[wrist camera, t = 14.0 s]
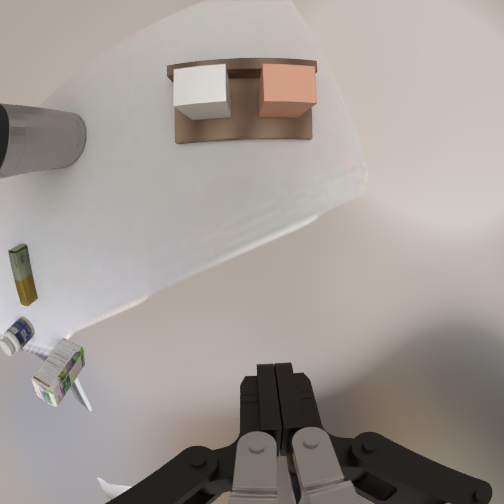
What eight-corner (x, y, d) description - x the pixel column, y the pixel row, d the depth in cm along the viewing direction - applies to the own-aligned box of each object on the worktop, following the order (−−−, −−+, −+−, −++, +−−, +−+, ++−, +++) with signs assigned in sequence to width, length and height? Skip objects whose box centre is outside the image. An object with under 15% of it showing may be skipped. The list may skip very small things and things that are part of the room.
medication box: (20, 243, 38) (7, 249, 35) (27, 244, 38) (14, 250, 35) (31, 296, 42) (20, 305, 39) (38, 298, 42) (28, 307, 39)
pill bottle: (36, 338, 46) (16, 362, 37) (22, 331, 45) (1, 352, 36) (32, 321, 44) (9, 344, 35) (18, 313, 44) (-5, 334, 34)
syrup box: (85, 365, 48) (58, 409, 34) (65, 355, 47) (36, 396, 33) (83, 347, 46) (53, 393, 32) (62, 337, 45) (29, 379, 32)
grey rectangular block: (192, 120, 31) (173, 106, 22) (192, 92, 30) (173, 69, 21) (231, 117, 31) (225, 101, 22) (230, 89, 30) (225, 63, 21)
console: (178, 143, 34) (167, 141, 29) (178, 78, 31) (167, 65, 25) (308, 139, 35) (320, 136, 29) (306, 74, 31) (316, 60, 26)
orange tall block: (258, 117, 32) (264, 101, 22) (257, 89, 30) (262, 63, 21) (297, 117, 32) (316, 103, 22) (296, 90, 30) (314, 66, 21)
